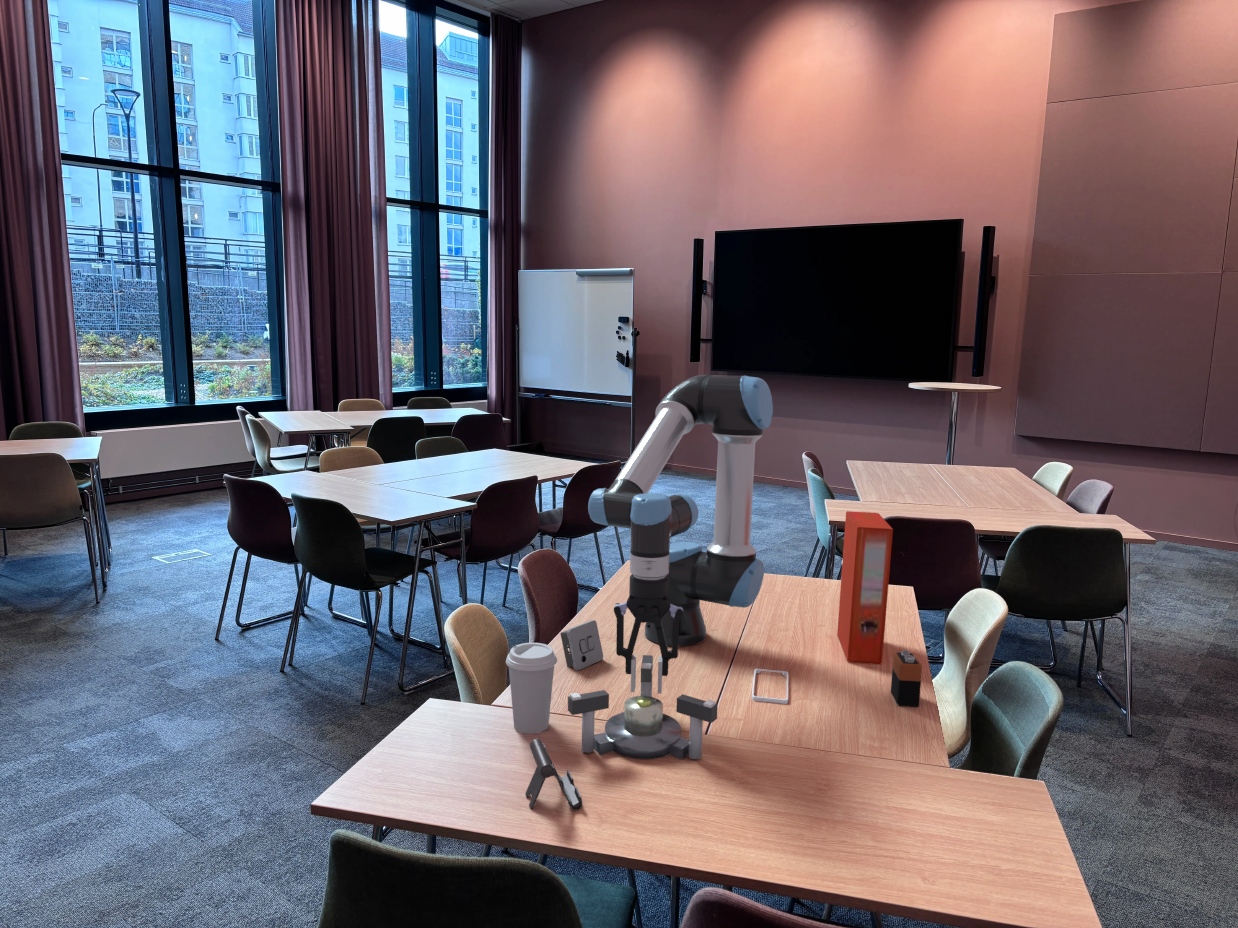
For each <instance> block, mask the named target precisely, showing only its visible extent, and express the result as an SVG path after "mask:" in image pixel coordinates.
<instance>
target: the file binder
mask: <svg viewBox="0 0 1238 928" xmlns="http://www.w3.org/2000/svg"><path fill="white" fill-rule="evenodd" d="M844 523H845V524H844V536H843V548H842V549H843V551H842V562H841V563H842V564H841V565H842V566H841V578H840V588H839V589H840V591H839V605H838V620H837V632H836V633H837V634H836V636H837V638H838V640H839V641H838V642H839V643H840V646H841V649H842V651H843V654H844V656H845V660H846V661H847V662H848V663H853V664H865V665H880V666H881V665H882V664H883V655H884V643H885V632H886V631H885V630H886V618H887V607H888V594H889V585H890V584H889V582H890V570H891V559H892V558H891V557H892V556H891V555H892V545H893V534H894V533H893V531H894V529H893V528H892V526H890V524H889V523H888V522H887V521H886V520H885V518H883V516H882V515H881V514H880V513H878V512H869V511H868V512H867V511H850V510H849V511H848V510H846V511H845V522H844Z"/></svg>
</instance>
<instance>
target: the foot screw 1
mask: <svg viewBox="0 0 1238 928" xmlns="http://www.w3.org/2000/svg"><path fill="white" fill-rule="evenodd" d="M609 708H610V694H609V693H608V692H607V691H606V690H605V689H603V690H596V691H592V692H586V693H578V692H573V693H572V692H571V693H569V696H567V711H568V712H569V714H571V716H574V715H580V714H581V751H582V752H583V753H587V754H588V753H592V752H594V751H595V749H594V735H595V712H597V711H601V710H602V711H603V710H606V709H609Z"/></svg>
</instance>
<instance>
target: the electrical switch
mask: <svg viewBox="0 0 1238 928" xmlns="http://www.w3.org/2000/svg"><path fill="white" fill-rule="evenodd" d="M597 624H598V622H597V621H596V620H595V619H590V620H588V621H586V622H583V623H581V624H578V625H575V626H573V627H570V628H568V629H567V630H563V631H561V632H560V633H559V634H560V638H561V643H562V648H563V653H564V657H565V662H566V667H569V668H570V667H572V668H573V670H575V671H580V670H583V669H585V668H587V667H589V666H591V665H593V664H595V663H598V662H600V661H602V660H603V659H604V653H603V647H602V643H601V638H600V633H599V628H598V627H599V626H598V625H597Z"/></svg>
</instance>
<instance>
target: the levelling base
mask: <svg viewBox="0 0 1238 928" xmlns="http://www.w3.org/2000/svg"><path fill="white" fill-rule="evenodd" d="M663 704H664V703H663V702H662V701H661V700H660V699H658V698H656V697H653V696H652V697H650V696H641V695H636V696H631V697H629V698H627V699H626V700H624V711H623V712H620V713H617V714H614V715H613V716H611V717H610V718H608V719H607V720H606V722H605V724H604V732H600V733H596V734H595V733H594V751H595V752H597V754H598V755H599V756H601V755H604V754H608V753H615V754H617V755H619V756H622V757H625V758H630V759H634V760H635V759H636V760H654V759H660V758H661V759H662V758H665V757H667V756H668V757H669V756H671V757H674V758H676V759H680V760H684V759H685V758H686V757H689V738H686V737H682V726H681V724H680V722H679V721H678V720H676V718H674V717H672V716H670V715H668V714H666V713H664V712H663V710H664V705H663Z"/></svg>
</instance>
